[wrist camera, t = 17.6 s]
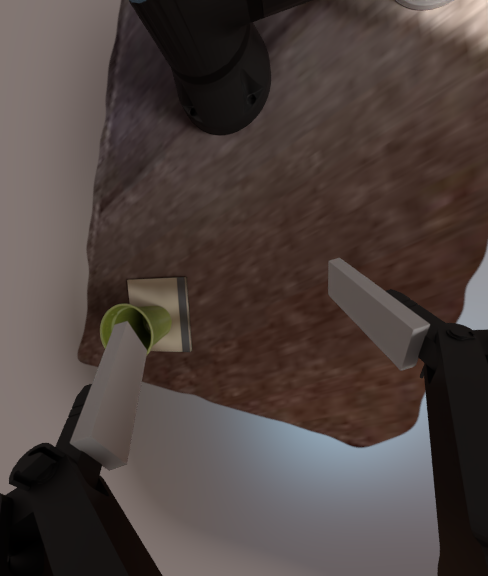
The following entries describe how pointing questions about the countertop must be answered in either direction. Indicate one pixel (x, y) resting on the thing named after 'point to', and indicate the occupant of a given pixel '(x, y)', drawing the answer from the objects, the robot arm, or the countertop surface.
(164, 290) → the board
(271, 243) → the countertop surface
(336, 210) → the countertop surface
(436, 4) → the decorative vase
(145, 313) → the plant pot
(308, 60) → the countertop surface
